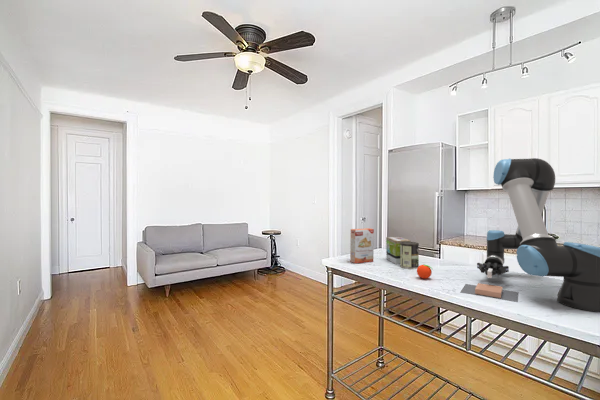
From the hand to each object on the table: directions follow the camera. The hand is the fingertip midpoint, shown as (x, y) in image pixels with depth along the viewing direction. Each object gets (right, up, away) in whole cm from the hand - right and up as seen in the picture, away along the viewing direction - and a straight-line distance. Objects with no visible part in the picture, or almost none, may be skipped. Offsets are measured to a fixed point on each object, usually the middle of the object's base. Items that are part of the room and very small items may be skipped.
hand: (489, 274), depth 129 cm
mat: (-1, -8, -1) cm, 8 cm away
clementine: (-19, -8, +22) cm, 30 cm away
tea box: (-20, -7, +60) cm, 64 cm away
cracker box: (-43, -7, +60) cm, 74 cm away
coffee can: (-18, -7, +46) cm, 50 cm away
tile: (+1, -6, +1) cm, 6 cm away
